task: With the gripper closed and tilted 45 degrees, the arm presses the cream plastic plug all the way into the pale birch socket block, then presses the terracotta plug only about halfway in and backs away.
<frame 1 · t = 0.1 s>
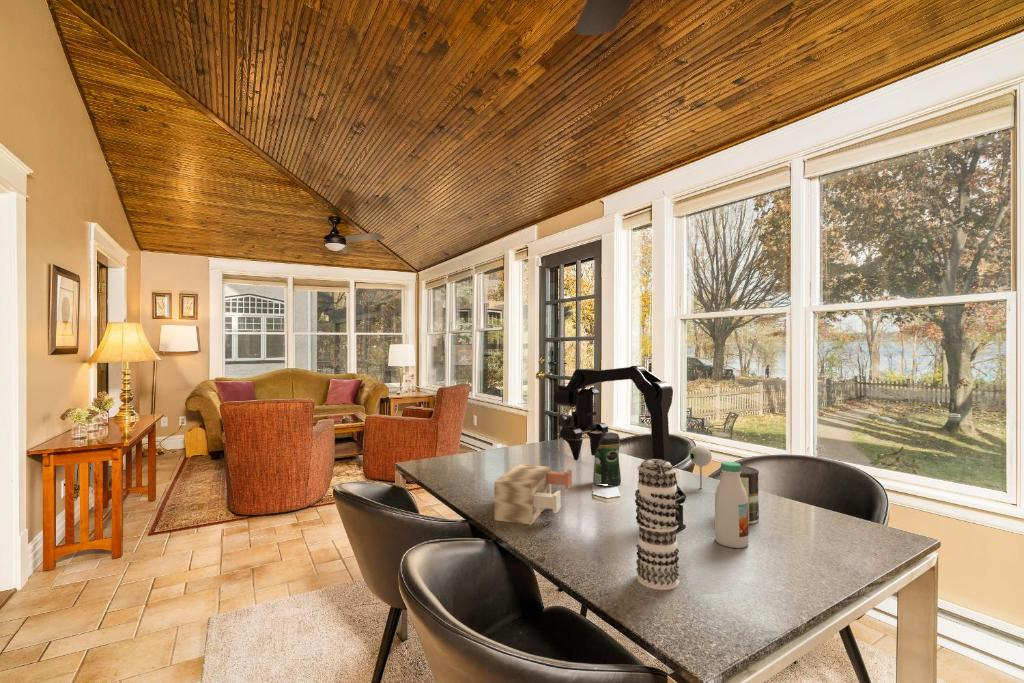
hand: (584, 457, 150), 15 cm above the table, tool pointing down, fingers open, 9 cm apart
coffee jar: (606, 484, 173), on the table
decorative candle: (657, 581, 101), on the table
terracotta plug: (551, 477, 150), point 9 cm above the table, slide at 0.0 cm
socket block: (524, 510, 145), on the table
milk bottle: (731, 543, 120), on the table
coffee can: (739, 518, 138), on the table
cream plug: (538, 499, 136), point 6 cm above the table, slide at 0.0 cm
lollipop: (700, 489, 167), on the table
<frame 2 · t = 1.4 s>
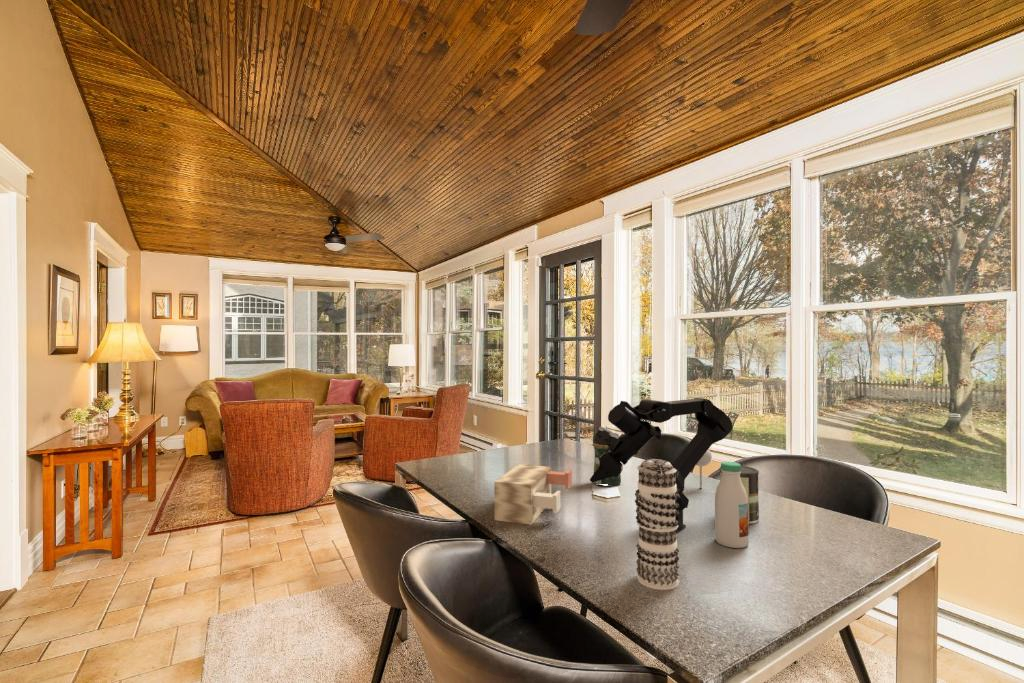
hand: (593, 478, 131), 14 cm above the table, tool tilted 45°, fingers open, 6 cm apart
nothing on the table moved.
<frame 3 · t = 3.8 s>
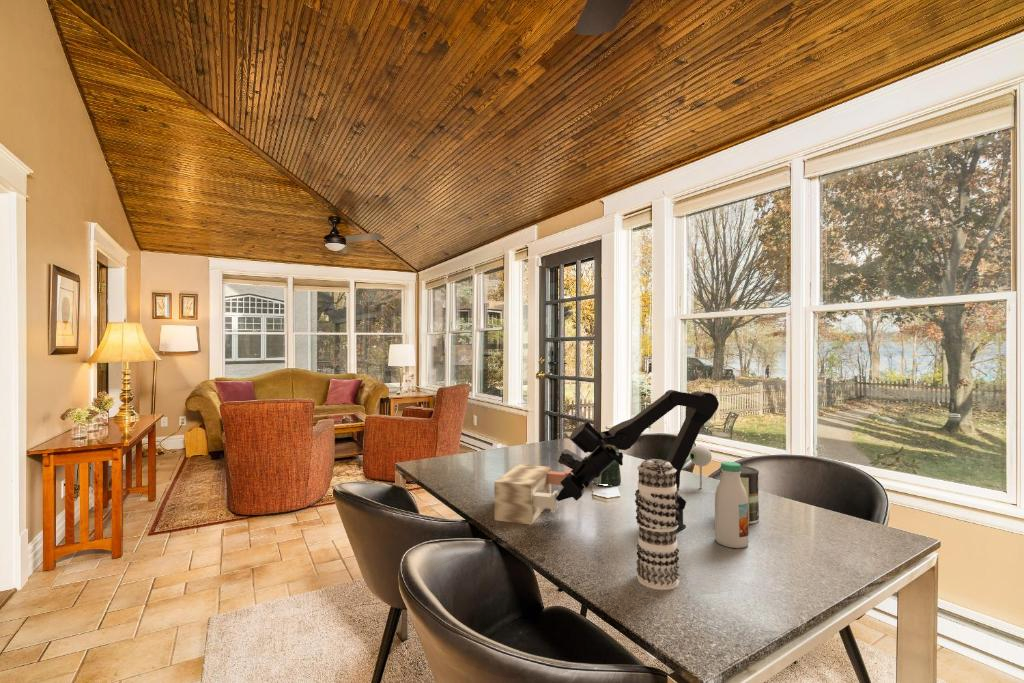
hand: (557, 499, 134), 7 cm above the table, tool tilted 45°, fingers closed, pressing on cream plug
cream plug: (535, 499, 136), point 6 cm above the table, slide at 0.6 cm, touching gripper
everything else where it was.
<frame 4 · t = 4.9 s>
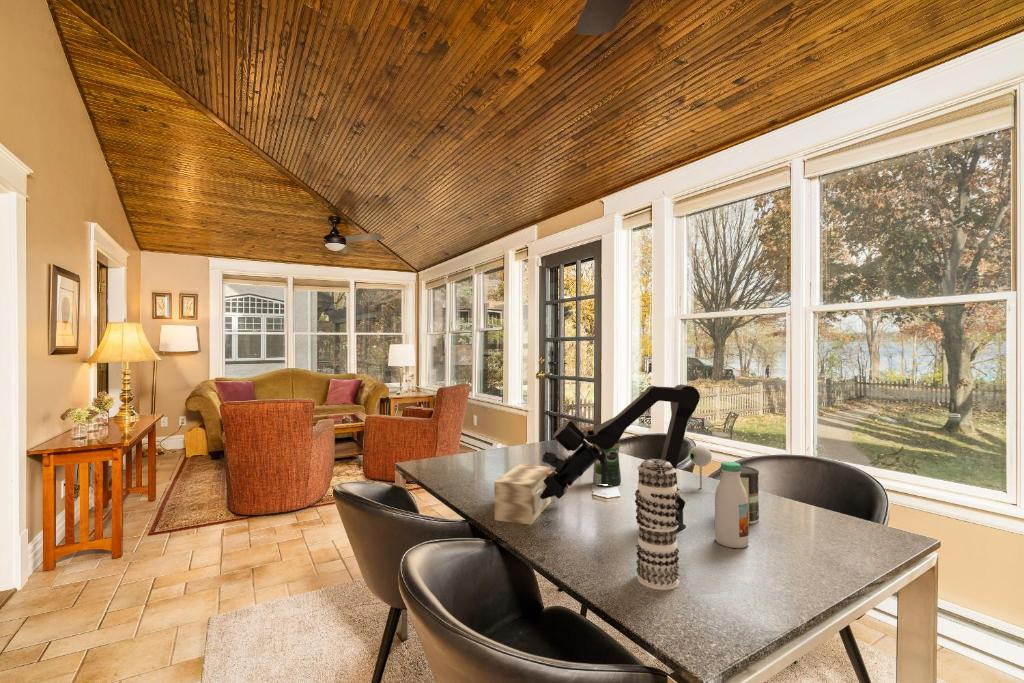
hand: (541, 497, 135), 7 cm above the table, tool tilted 45°, fingers closed, pressing on cream plug
cream plug: (520, 497, 137), point 6 cm above the table, slide at 5.3 cm, touching gripper
everything else where it was.
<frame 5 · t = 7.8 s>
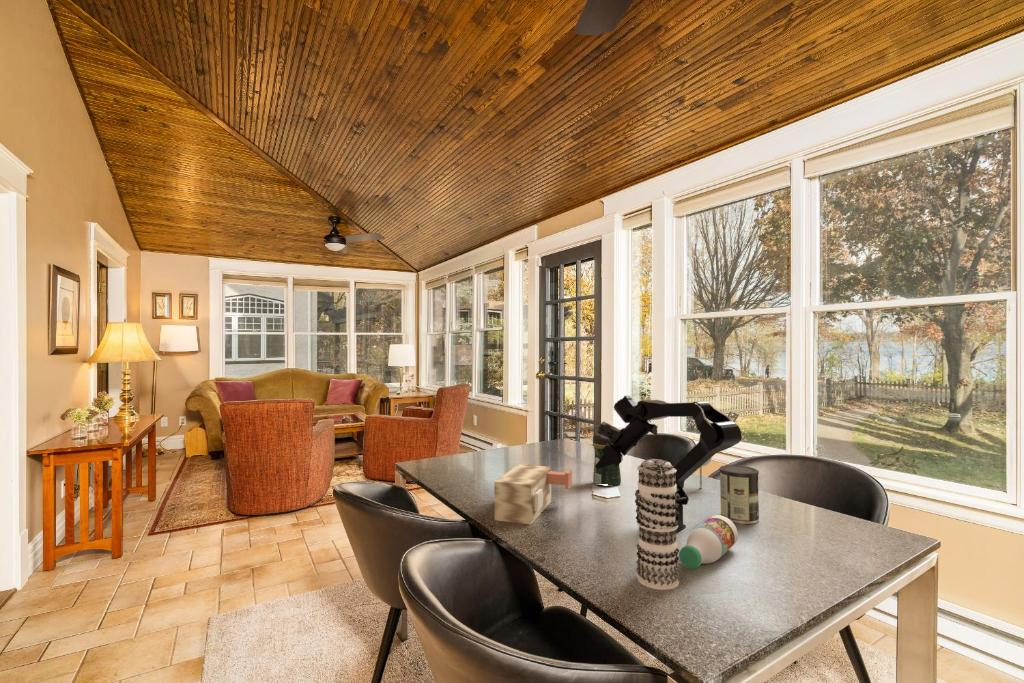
hand: (596, 467, 145), 13 cm above the table, tool tilted 45°, fingers closed
milk bottle: (722, 530, 118), point 4 cm above the table
cream plug: (520, 497, 137), point 6 cm above the table, slide at 5.3 cm
everything else where it was.
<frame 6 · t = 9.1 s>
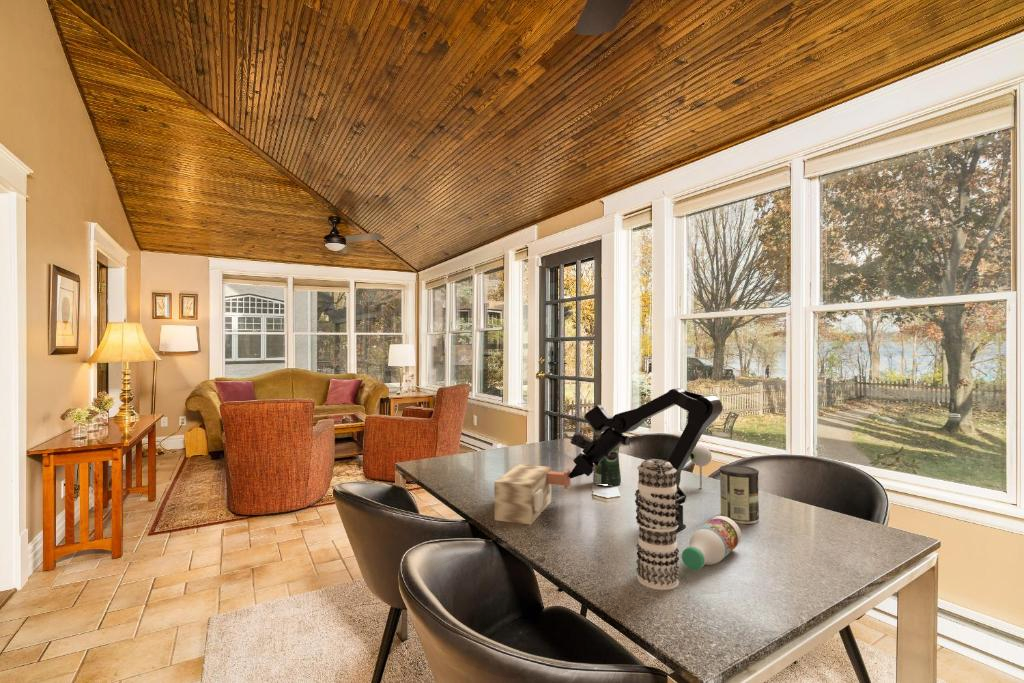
hand: (569, 477, 148), 9 cm above the table, tool tilted 45°, fingers closed, pressing on terracotta plug
terracotta plug: (550, 477, 150), point 9 cm above the table, slide at 0.4 cm, touching gripper
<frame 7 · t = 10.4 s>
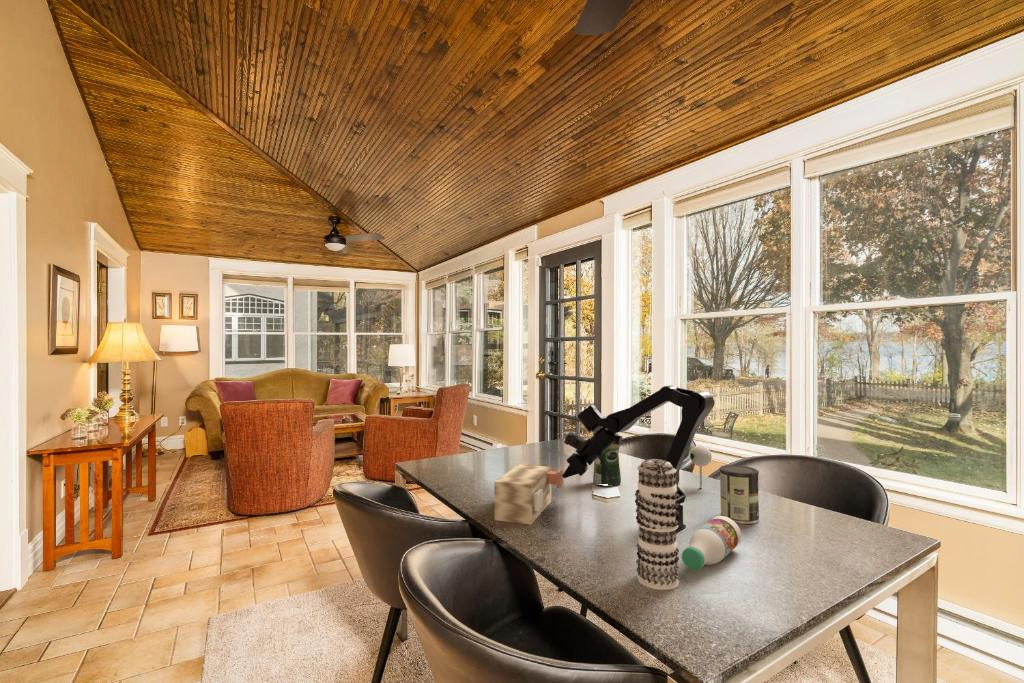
hand: (563, 476, 149), 9 cm above the table, tool tilted 45°, fingers closed
terracotta plug: (542, 476, 151), point 9 cm above the table, slide at 2.8 cm
everything else where it was.
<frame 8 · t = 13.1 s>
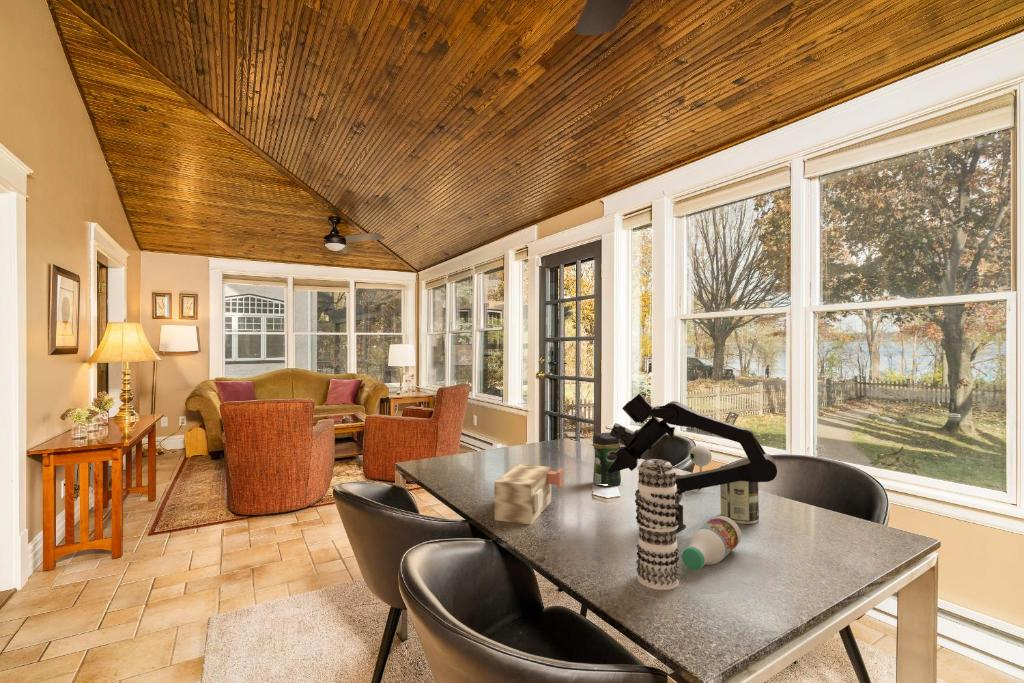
hand: (608, 472, 137), 14 cm above the table, tool tilted 45°, fingers closed
nothing on the table moved.
at the end: cream plug slide at 5.3 cm; terracotta plug slide at 2.8 cm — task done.
